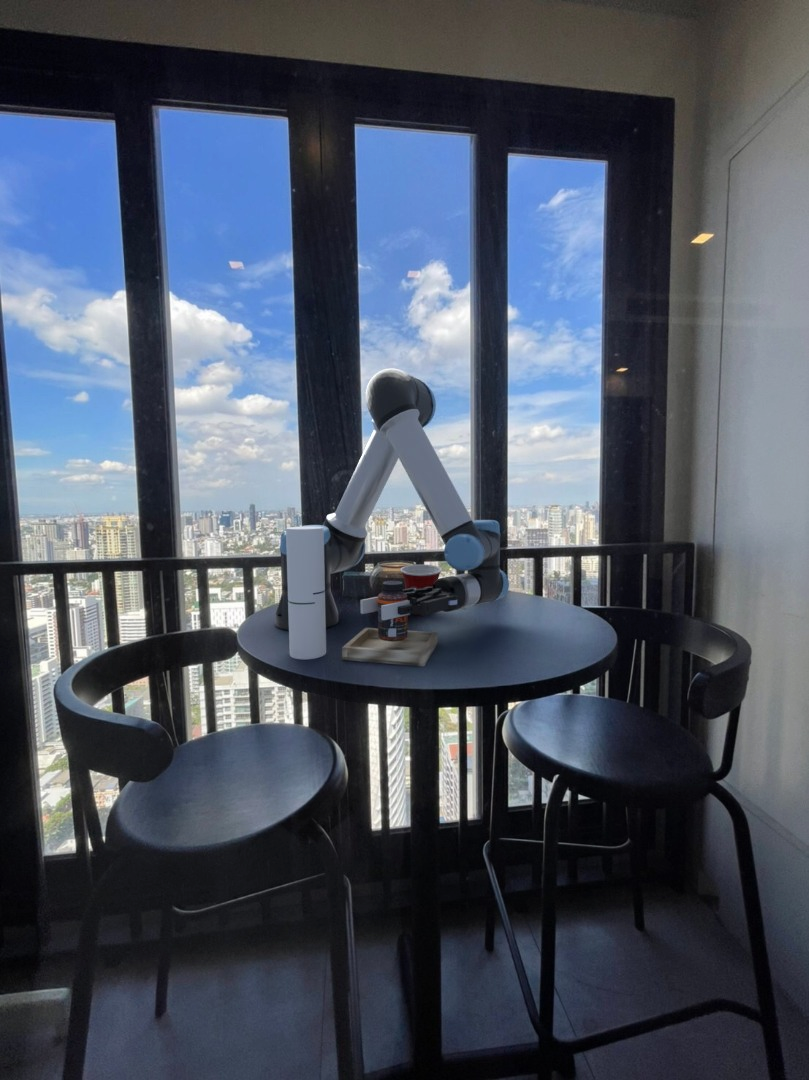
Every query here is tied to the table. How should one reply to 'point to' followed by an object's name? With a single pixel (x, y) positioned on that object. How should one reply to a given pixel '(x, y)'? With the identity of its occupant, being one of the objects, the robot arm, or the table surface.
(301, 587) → the cylindrical container
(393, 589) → the supplement bottle
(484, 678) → the table surface
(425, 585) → the plastic cup
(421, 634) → the tray
